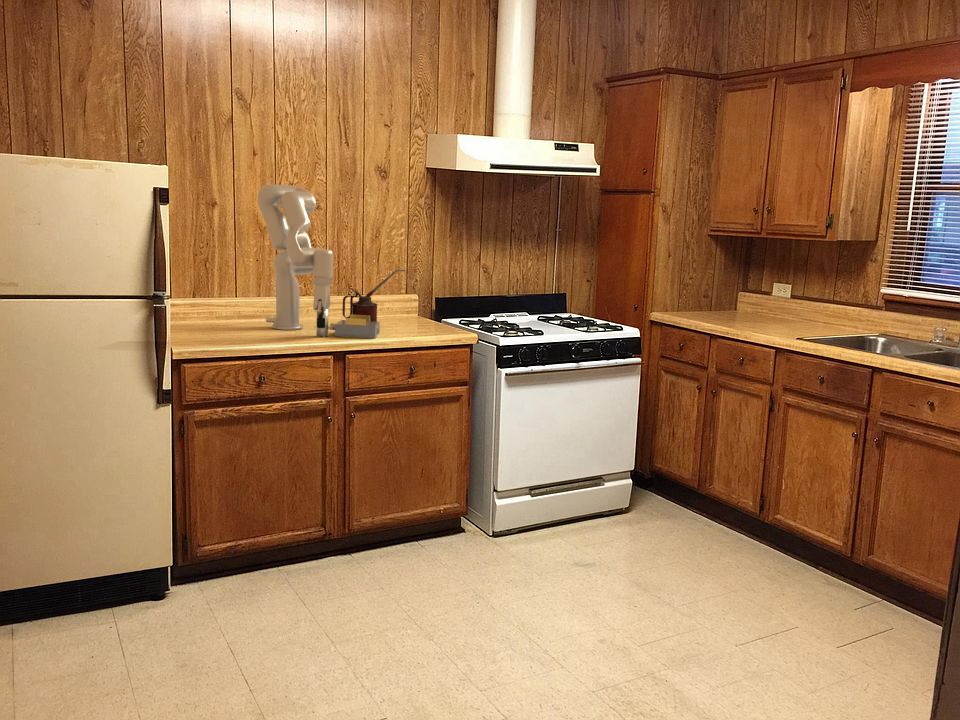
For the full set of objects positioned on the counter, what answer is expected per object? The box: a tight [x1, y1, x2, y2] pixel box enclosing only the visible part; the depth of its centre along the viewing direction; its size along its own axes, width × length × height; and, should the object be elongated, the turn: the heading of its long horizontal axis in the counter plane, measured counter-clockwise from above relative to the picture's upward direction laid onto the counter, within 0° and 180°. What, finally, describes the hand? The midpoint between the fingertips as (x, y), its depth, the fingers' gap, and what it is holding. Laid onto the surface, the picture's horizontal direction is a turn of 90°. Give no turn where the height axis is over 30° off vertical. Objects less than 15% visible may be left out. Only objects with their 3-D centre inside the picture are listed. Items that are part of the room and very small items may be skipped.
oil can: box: [342, 269, 406, 322], centre depth 364 cm, size 28×11×25 cm, turn 117°
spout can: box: [315, 307, 329, 337], centre depth 333 cm, size 5×5×12 cm
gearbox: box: [329, 314, 381, 339], centre depth 340 cm, size 19×13×8 cm
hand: (322, 326), depth 334 cm, fingers closed on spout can, 4 cm apart
